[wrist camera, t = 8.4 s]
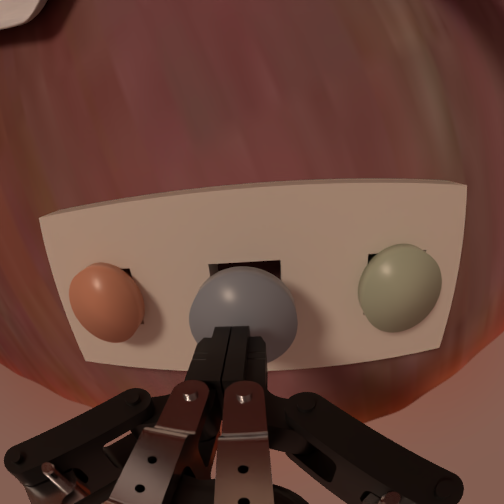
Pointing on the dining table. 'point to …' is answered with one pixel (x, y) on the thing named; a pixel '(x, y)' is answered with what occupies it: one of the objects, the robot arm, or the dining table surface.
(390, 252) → the sage button
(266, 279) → the slate button
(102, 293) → the terracotta button
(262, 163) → the dining table surface
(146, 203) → the button panel
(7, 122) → the dining table surface
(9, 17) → the salad plate
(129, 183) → the dining table surface
